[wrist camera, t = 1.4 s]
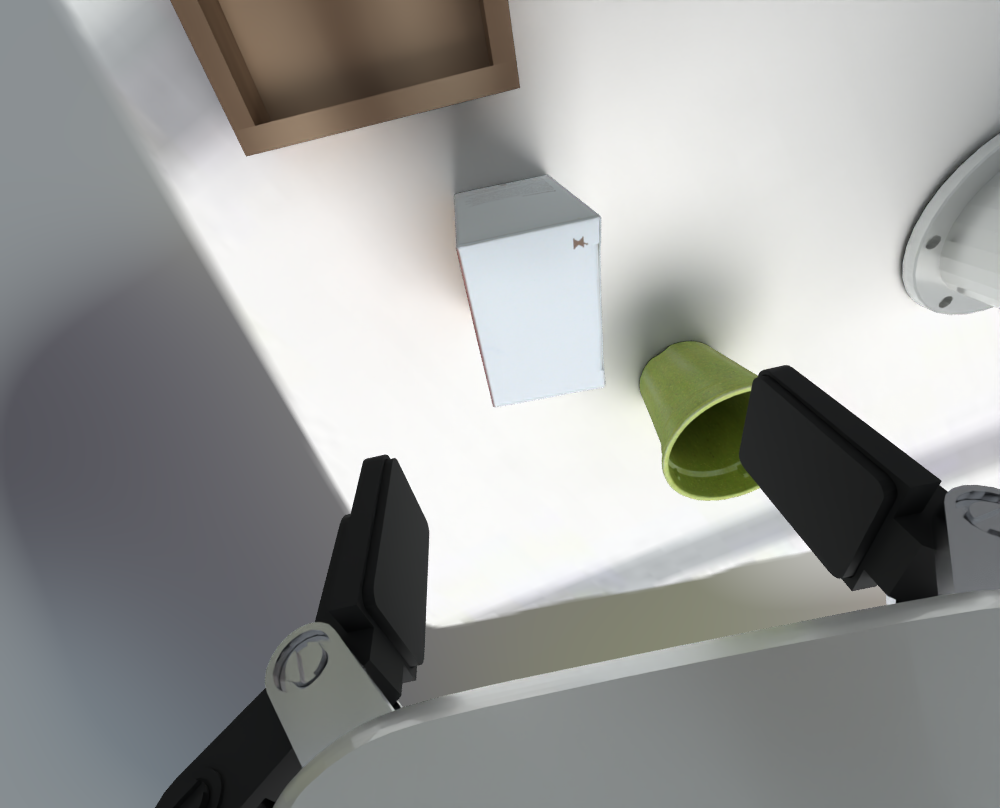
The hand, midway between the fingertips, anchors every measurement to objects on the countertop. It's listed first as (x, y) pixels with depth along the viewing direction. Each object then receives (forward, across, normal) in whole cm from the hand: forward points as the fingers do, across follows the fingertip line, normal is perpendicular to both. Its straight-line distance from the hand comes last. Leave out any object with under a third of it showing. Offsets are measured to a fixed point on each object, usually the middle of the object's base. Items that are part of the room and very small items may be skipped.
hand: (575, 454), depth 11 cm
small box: (+19, -1, 0) cm, 19 cm away
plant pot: (+18, -12, +12) cm, 25 cm away
